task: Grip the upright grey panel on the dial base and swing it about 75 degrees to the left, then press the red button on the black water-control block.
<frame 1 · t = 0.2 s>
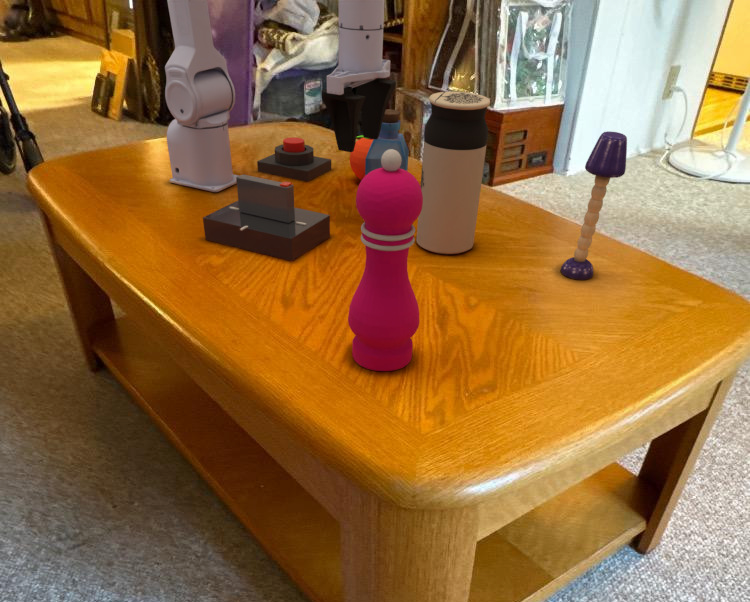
hand: (358, 144, 95), 10 cm above the table, tool pointing down, fingers open, 7 cm apart
travel mug: (444, 245, 95), on the table
clementine: (366, 182, 115), on the table
pepper mill: (381, 358, 71), on the table
control block: (295, 170, 117), on the table
upright grey panel: (265, 197, 91), point 5 cm above the table, hinge at 0.0°
dial base: (268, 238, 94), on the table
toy lamp: (578, 275, 89), on the table
button: (293, 145, 114), point 4 cm above the table, slide at 0.1 cm
perfume bottle: (385, 196, 109), on the table
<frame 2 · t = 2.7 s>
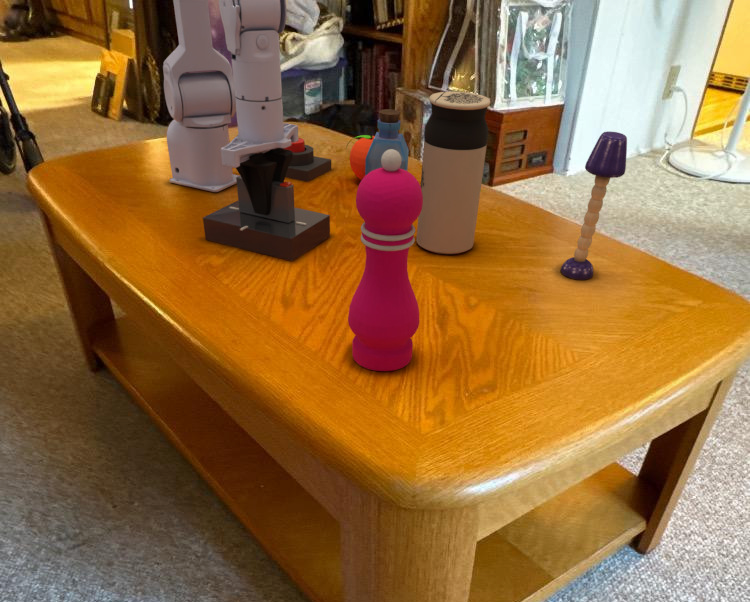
hand: (266, 211, 92), 4 cm above the table, tool pointing down, fingers closed on upright grey panel, 2 cm apart
upright grey panel: (265, 197, 91), point 5 cm above the table, hinge at 0.0°, touching gripper
everything else where it was.
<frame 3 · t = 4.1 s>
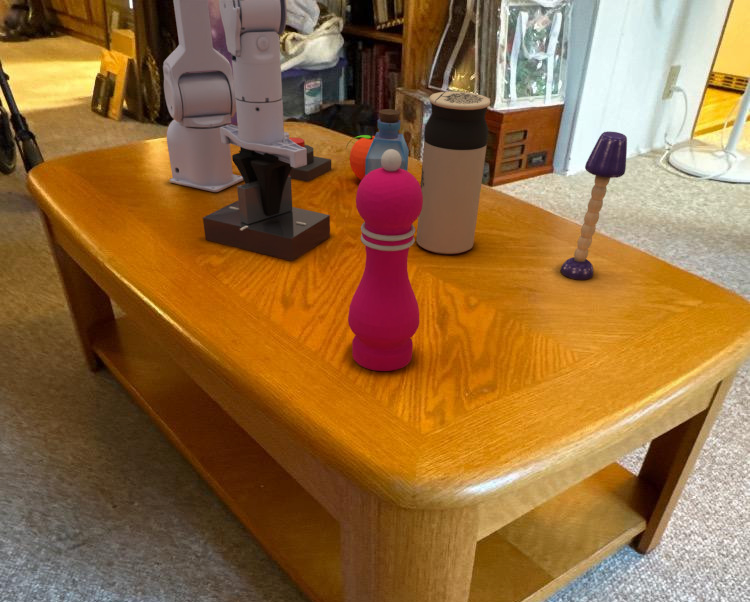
hand: (266, 211, 92), 4 cm above the table, tool pointing down, fingers closed on upright grey panel, 2 cm apart
upright grey panel: (265, 197, 91), point 5 cm above the table, hinge at 74.3°, touching gripper
everything else where it was.
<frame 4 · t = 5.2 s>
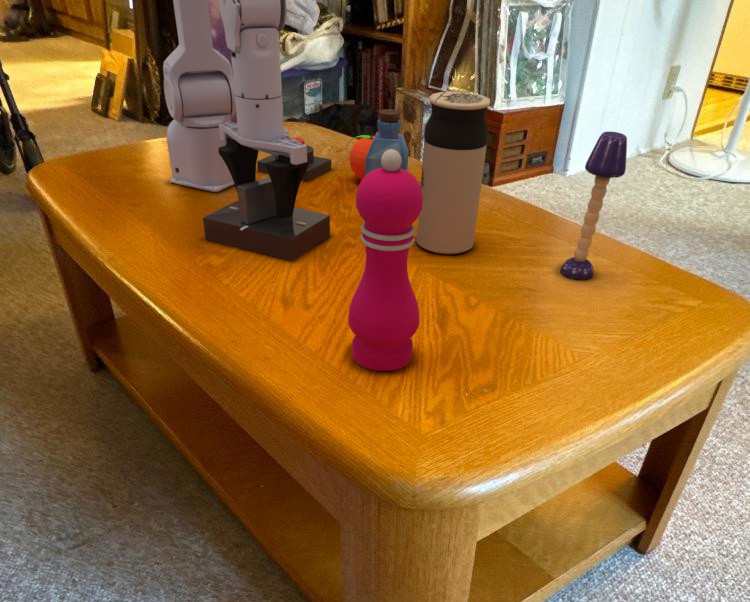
hand: (266, 209, 92), 4 cm above the table, tool pointing down, fingers open, 7 cm apart
upright grey panel: (265, 197, 91), point 5 cm above the table, hinge at 74.3°
everything else where it was.
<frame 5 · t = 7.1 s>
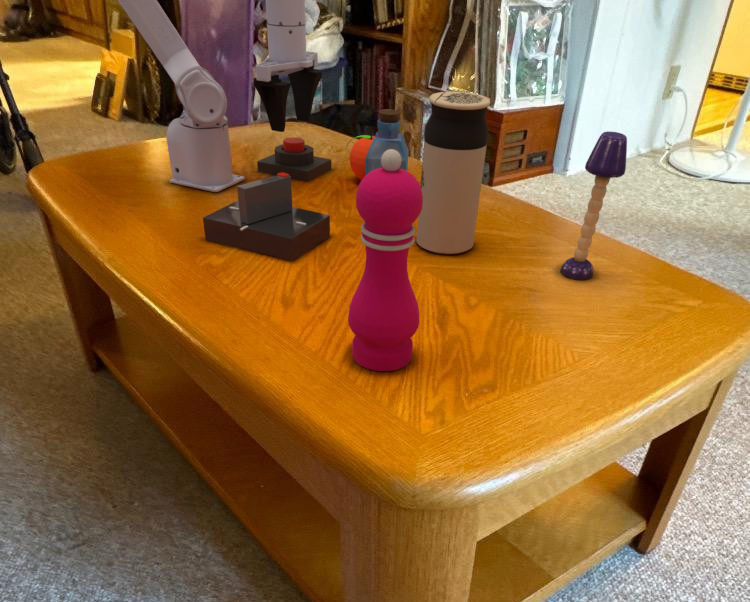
hand: (290, 125, 109), 8 cm above the table, tool pointing down, fingers open, 7 cm apart
nothing on the table moved.
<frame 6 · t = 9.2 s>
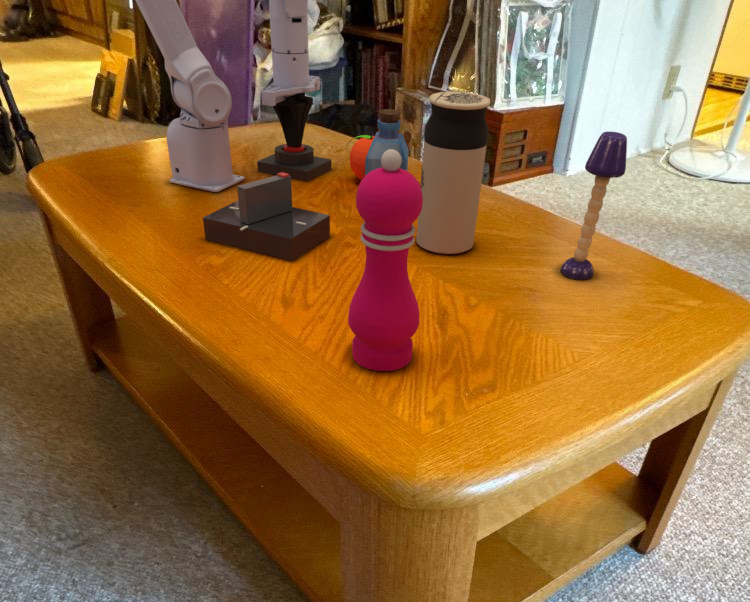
hand: (294, 146, 115), 4 cm above the table, tool pointing down, fingers closed, pressing on button
button: (294, 151, 115), point 3 cm above the table, slide at -0.8 cm, touching gripper
everything else where it was.
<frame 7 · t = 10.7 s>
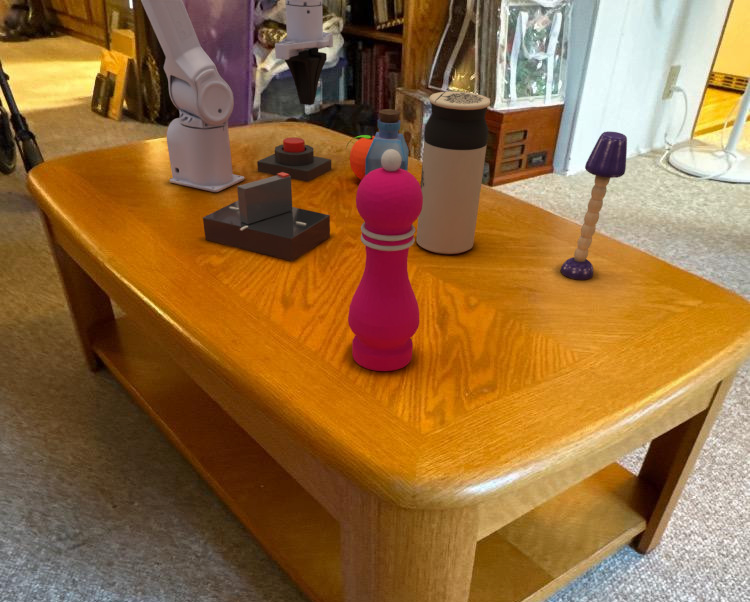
hand: (307, 103, 114), 9 cm above the table, tool pointing down, fingers closed
button: (293, 145, 114), point 4 cm above the table, slide at 0.1 cm
everything else where it was.
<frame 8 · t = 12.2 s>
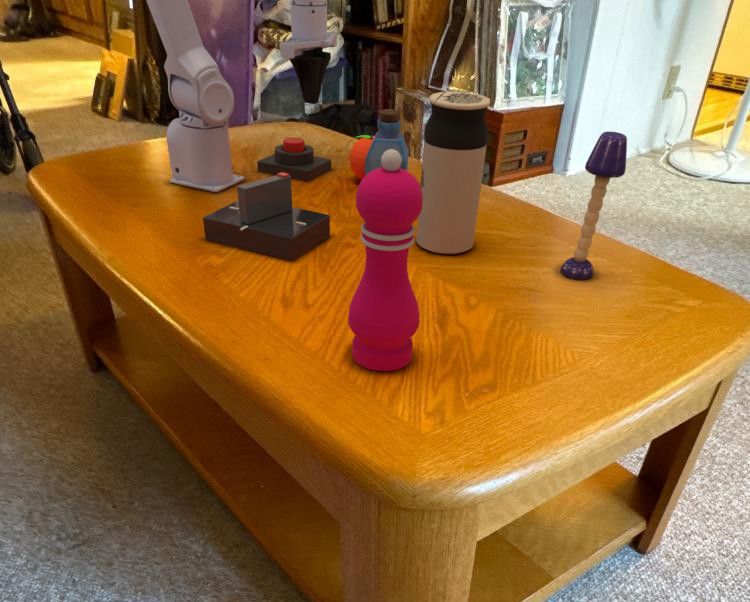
hand: (311, 102, 115), 9 cm above the table, tool pointing down, fingers closed
nothing on the table moved.
at the end: upright grey panel at +74° (first picture: +0°); button pushed in 1.2 cm at the most during the clip, back to where it started at the end; button slide at 0.1 cm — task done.
